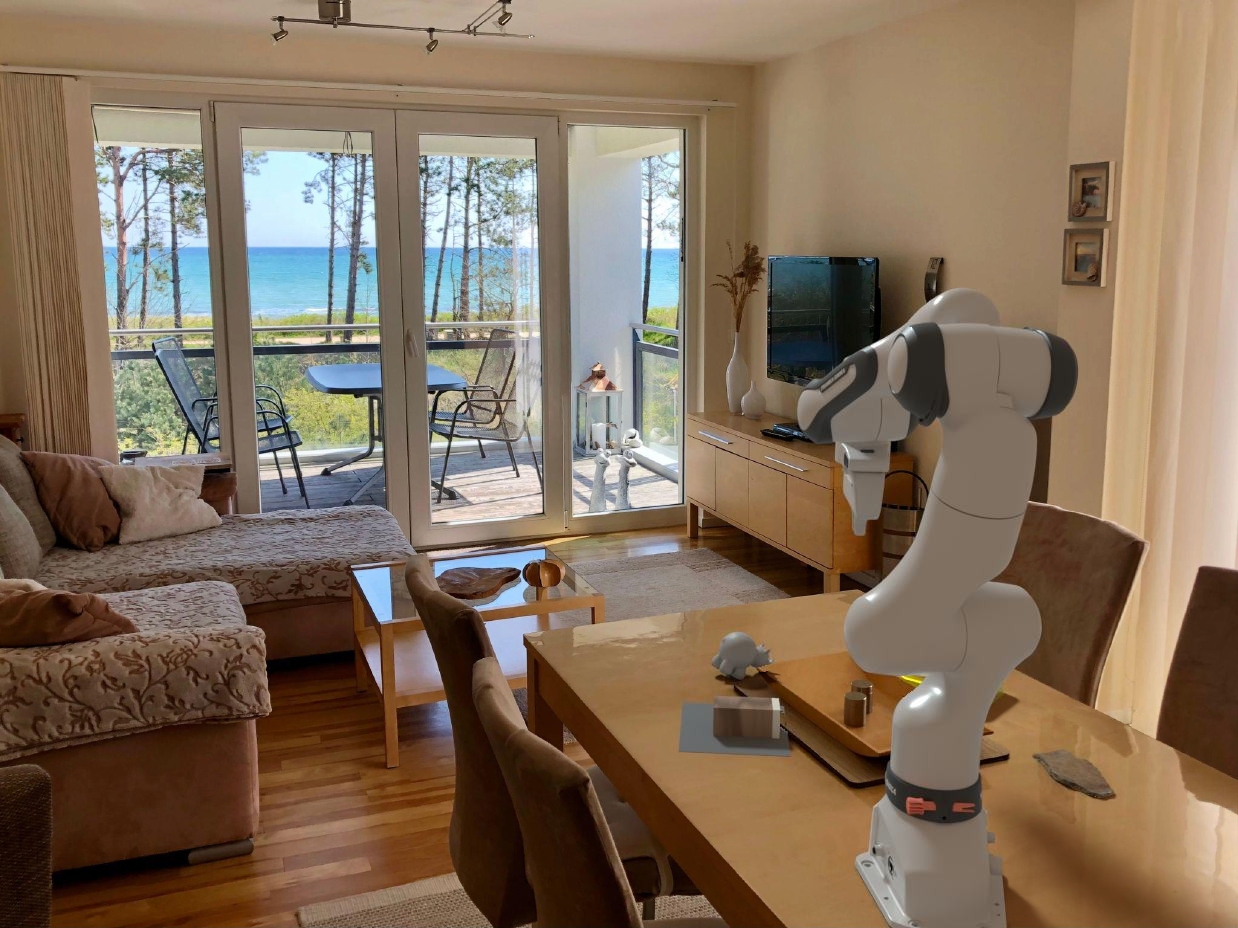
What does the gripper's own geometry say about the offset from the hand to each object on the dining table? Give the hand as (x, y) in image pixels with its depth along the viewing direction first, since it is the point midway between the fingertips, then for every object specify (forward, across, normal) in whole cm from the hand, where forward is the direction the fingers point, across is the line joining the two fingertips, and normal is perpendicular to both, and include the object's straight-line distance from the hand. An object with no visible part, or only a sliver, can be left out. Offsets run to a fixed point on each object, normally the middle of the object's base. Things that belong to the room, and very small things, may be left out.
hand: (858, 533), depth 183 cm
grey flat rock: (+35, +15, +33) cm, 50 cm away
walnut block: (+31, +5, -23) cm, 39 cm away
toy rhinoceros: (+34, -22, -18) cm, 44 cm away
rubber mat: (+34, +4, -20) cm, 40 cm away
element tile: (+35, -16, +20) cm, 43 cm away
